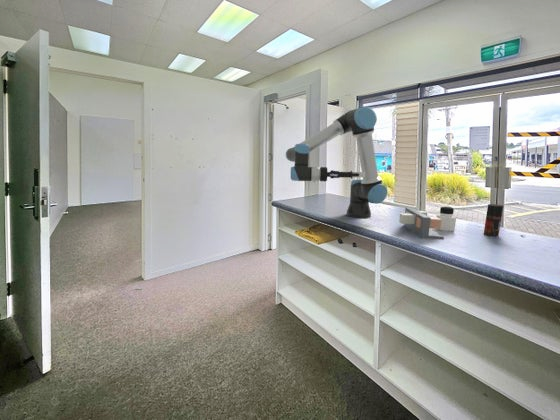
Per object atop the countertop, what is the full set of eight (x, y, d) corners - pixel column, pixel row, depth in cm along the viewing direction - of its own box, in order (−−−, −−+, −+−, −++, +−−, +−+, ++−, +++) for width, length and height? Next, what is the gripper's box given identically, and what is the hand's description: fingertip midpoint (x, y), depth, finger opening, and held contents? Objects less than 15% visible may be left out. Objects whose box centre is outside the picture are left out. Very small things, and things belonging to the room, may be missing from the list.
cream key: (402, 223, 144) (402, 215, 143) (399, 221, 148) (400, 213, 148) (421, 224, 143) (422, 215, 142) (418, 222, 148) (419, 213, 147)
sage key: (407, 220, 151) (408, 212, 151) (404, 218, 156) (405, 210, 155) (426, 220, 151) (427, 212, 150) (422, 219, 155) (423, 210, 154)
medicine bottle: (454, 231, 147) (457, 208, 145) (439, 230, 148) (442, 207, 146) (449, 227, 154) (452, 206, 151) (435, 227, 155) (437, 205, 153)
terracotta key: (419, 228, 136) (420, 218, 135) (416, 225, 140) (417, 216, 139) (440, 228, 135) (441, 219, 134) (436, 226, 139) (437, 217, 139)
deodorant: (484, 232, 145) (488, 203, 142) (498, 234, 141) (503, 205, 138) (483, 235, 140) (487, 205, 137) (498, 237, 136) (503, 206, 133)
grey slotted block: (421, 238, 134) (423, 217, 132) (403, 225, 159) (405, 207, 157) (443, 238, 134) (446, 218, 132) (422, 225, 158) (424, 207, 156)
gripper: (318, 180, 159) (362, 180, 157) (319, 182, 146) (367, 183, 144) (319, 166, 157) (362, 167, 155) (320, 167, 145) (368, 168, 143)
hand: (364, 174), depth 150 cm, fingers closed
